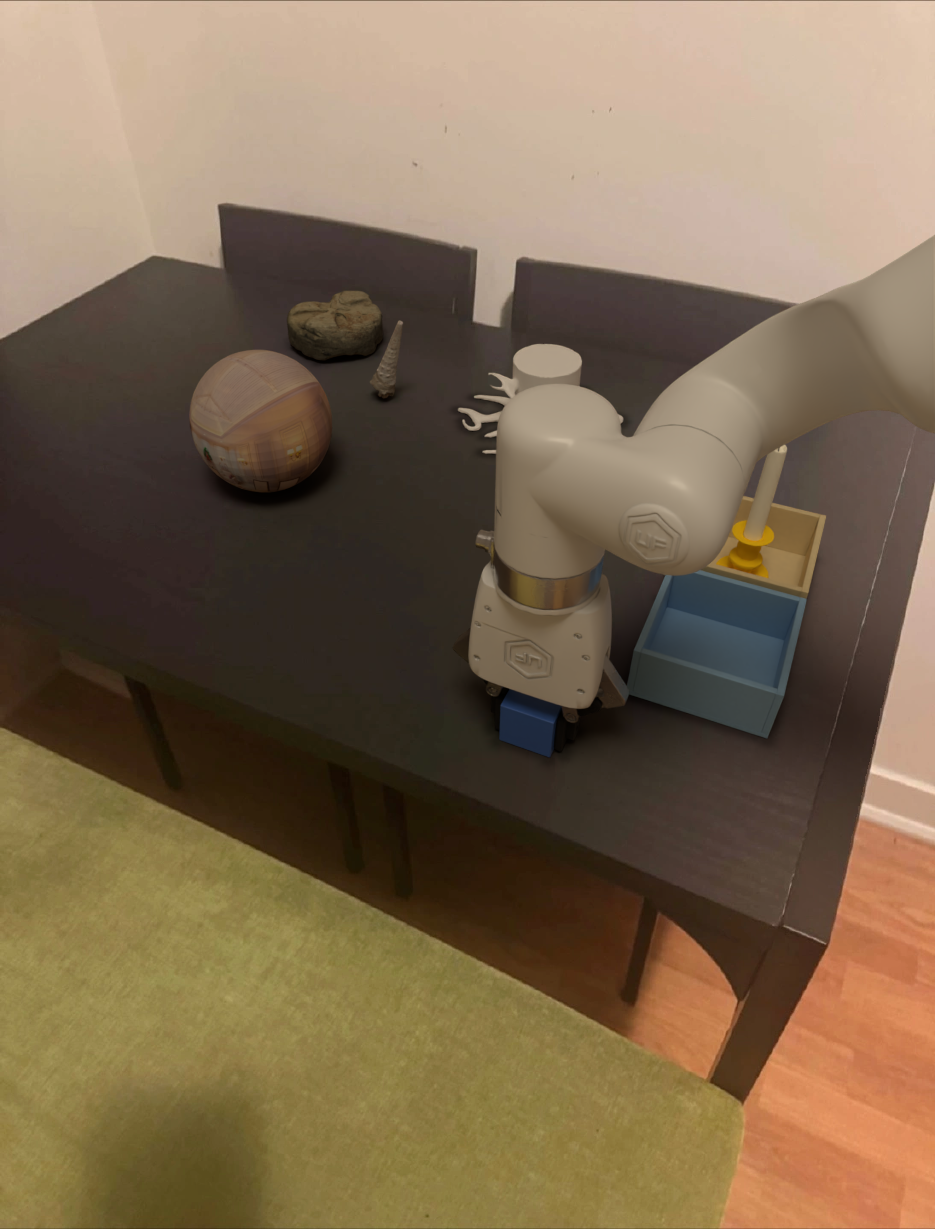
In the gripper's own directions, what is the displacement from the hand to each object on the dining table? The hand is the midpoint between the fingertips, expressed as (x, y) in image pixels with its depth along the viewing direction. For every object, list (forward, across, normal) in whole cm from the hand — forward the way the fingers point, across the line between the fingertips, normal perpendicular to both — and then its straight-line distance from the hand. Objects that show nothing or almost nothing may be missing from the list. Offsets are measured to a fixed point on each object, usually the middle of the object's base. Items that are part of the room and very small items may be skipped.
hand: (534, 726), depth 71 cm
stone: (+1, -50, +54) cm, 73 cm away
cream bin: (0, +12, +26) cm, 29 cm away
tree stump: (+1, -16, +45) cm, 48 cm away
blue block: (0, 0, 0) cm, 0 cm away
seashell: (+1, -36, +42) cm, 56 cm away
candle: (0, +12, +26) cm, 29 cm away
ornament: (+1, -40, +22) cm, 45 cm away
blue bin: (0, +12, +13) cm, 18 cm away
